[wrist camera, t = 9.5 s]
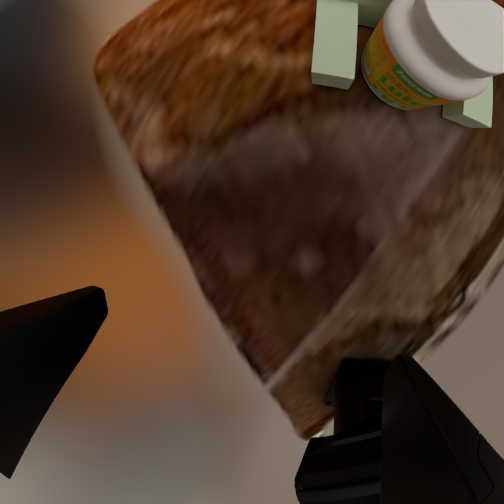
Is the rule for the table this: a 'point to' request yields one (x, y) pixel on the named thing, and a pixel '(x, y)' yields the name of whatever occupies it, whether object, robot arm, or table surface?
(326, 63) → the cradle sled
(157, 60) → the table surface
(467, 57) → the supplement bottle
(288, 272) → the table surface
